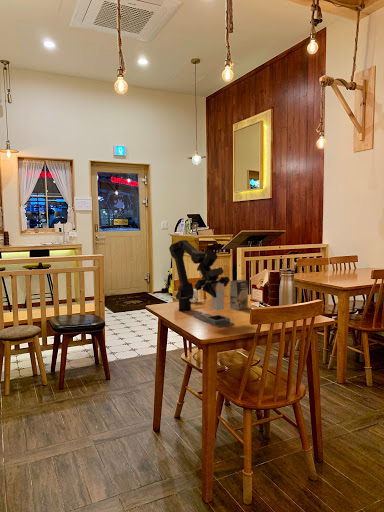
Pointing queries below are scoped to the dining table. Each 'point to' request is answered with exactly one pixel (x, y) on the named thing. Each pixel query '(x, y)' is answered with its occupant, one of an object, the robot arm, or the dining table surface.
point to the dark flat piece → (215, 320)
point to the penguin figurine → (195, 296)
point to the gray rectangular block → (218, 296)
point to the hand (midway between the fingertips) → (219, 296)
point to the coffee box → (238, 294)
